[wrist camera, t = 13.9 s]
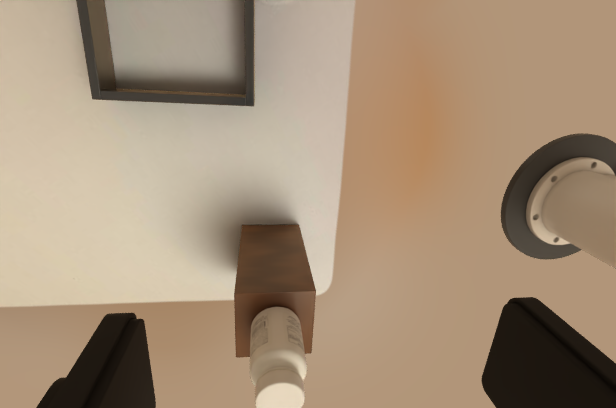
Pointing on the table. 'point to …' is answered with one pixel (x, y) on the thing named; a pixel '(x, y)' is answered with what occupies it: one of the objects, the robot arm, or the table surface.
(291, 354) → the pill bottle
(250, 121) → the table surface
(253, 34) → the tray
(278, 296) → the display block
